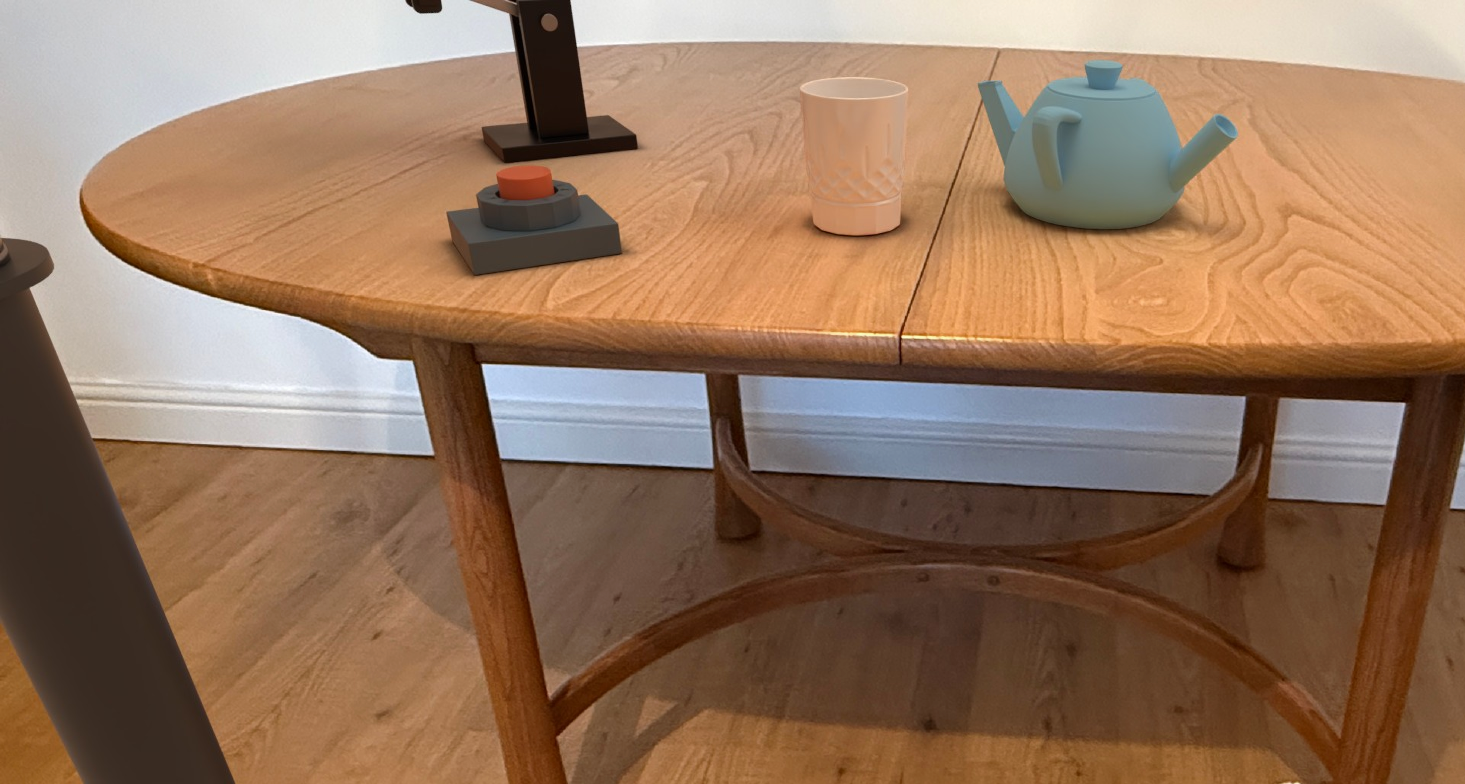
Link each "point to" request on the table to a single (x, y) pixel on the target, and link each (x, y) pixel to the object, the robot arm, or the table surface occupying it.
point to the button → (525, 183)
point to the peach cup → (855, 152)
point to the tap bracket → (552, 92)
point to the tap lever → (500, 5)
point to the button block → (532, 230)
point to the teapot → (1098, 149)
